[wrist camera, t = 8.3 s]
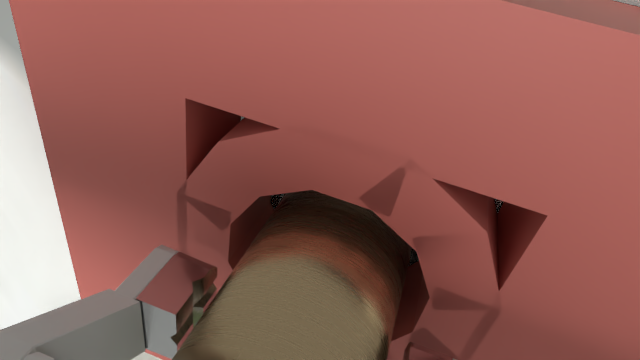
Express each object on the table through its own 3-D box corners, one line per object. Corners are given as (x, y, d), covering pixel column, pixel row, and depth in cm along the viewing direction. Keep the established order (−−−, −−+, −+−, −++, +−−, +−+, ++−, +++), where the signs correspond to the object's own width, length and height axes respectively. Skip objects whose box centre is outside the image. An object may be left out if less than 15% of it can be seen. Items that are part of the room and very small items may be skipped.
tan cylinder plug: (436, 180, 12) (391, 411, 7) (396, 276, 15) (340, 501, 9) (301, 136, 13) (162, 314, 8) (284, 234, 16) (170, 423, 10)
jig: (864, 61, 8) (1020, 131, 6) (516, 427, 17) (520, 515, 15) (89, -127, 11) (-24, -133, 8) (136, 274, 20) (87, 327, 17)
